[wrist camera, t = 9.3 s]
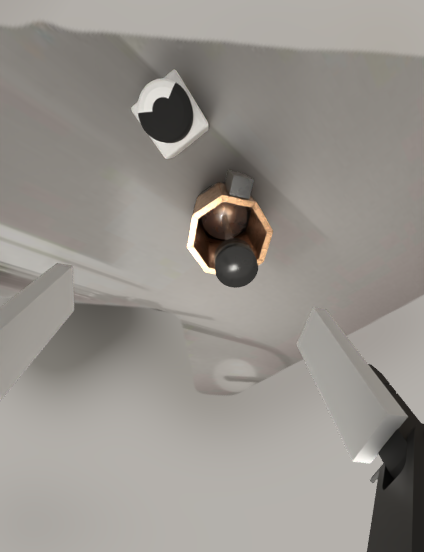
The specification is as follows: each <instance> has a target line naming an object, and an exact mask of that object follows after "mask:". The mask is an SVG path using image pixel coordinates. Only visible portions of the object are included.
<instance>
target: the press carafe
mask: <svg viewBox="0 0 424 552" xmlns="http://www.w3.org/2000/svg"><path fill="white" fill-rule="evenodd" d="M253 183H254V179H252V178H250V177H249V176H247V175H245V174H244V173H241V172H236V171H232V170H227V175H226V179H225V183H217V184H215V185H213V186H210V187H209V188H207V189H206V190H205V191H203V192H202V194H201V195H199V196H198V197H197V200H196V204H195V207H194V212H193V216H192V222H191V228H190V234H189V239H188V245H187V248H188V249H189V251H190V252H191V253H192V255H193V256H194V257H195V259H196V260H197V261H198V263H199V264H200V266H201V267H202V268H203V270H204V271H205V272H206V273H212V274H216V273H215V259H214V255H215V251H216V249H217V247H218V246H219V244H221V243H222V242H223V241H225V240H226V239H218V238H215V237H213V236H211V235H210V234H209V233H208V232H207V231H206V230H205V228H204V226H203V223H202V216H203V215H204V214H206V213H207V212H209V211H210V210H212V209H213V208H215V207H216V206H217V205H219V204H220V203H222V202H227V203H232V204H237V205H242V206H245V207H246V210H247V222H246V225H245V227H244V228H243V230H242V231H241V232H240V233H239V234H238V235H237V236H235V237H233V238H239V239H242V240H244V241H246V242H247V243H248V244H249V245H250V246H251V248H252V251H253V253H254V255H255V257H256V260H257V262H258V265H259V264H261V263H263V261H264V259H265V256H266V253H267V250H268V246H269V243H270V240H271V237H272V234H273V230H272V228H271V226H270V225H269V223H268V221H267V219H266V218H265V216H264V214H263V212H262V211H261V209H260V207H259V205H258V204H257V202H256V201H255V200H254V199H253V198H252V197H251V196H250V194H251V190H252V187H253Z"/></svg>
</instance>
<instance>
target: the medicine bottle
mask: <svg viewBox="0 0 424 552" xmlns="http://www.w3.org/2000/svg"><path fill="white" fill-rule="evenodd" d="M131 111H132V112H133V114H134V115H135V117H136V118H137V119H138V121H139V122H140V124H141V125H142V127H143V129H144V130H145V131H146V133H147V134H148V135H149V136H150V138H151V139H152V141H153V142H154V143H155V145H156V146H157V148H158V149H159V150H160V152H161V153H162V155H163V156H164V158H166V159H170V158H174V157H176V156H177V155H178V154H179V153H180V152H182V151H183V150H184V149H185V148H187V147H188V146H189V145H190V144H192V143H193V142H194V141H195V140H197V139H198V138H199V137H200V136H202V135H203V134H204V133H205V132H207V131H208V129H209V124H208V121H207V120H206V118H205V116H204V115H203V113H202V112H201V110H200V108H199V107H198V105H197V103H196V102H195V100H194V98H193V97H192V95H191V93H190V92H189V90H188V89H187V87H186V85H185V84H184V82H183V80H182V79H181V77H180V75H179V74H178V72H177V71H176V70H175V69H174V70H172V71H171V72H170V73H169V74H168V75H166V76H165V77H164V78H160V79H156V80H153V81H151V82H150V83H148V84H147V85H146V86H145V87H144V88H143V90H142V91H141V94H140V96H139V99H138V102H137V103H136V104H134V105H133V106H132V108H131Z"/></svg>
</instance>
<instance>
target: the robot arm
mask: <svg viewBox="0 0 424 552" xmlns="http://www.w3.org/2000/svg"><path fill="white" fill-rule="evenodd" d="M73 311H74V288H73V266H71V265H65V264H59V263H57V264H55V265H54V266H53V267H52V268H50V269H49V270H48V271H46V272H45V273H44V274H42V275H41V276H40V277H39V278H37V279H36V280H35V281H33V282H32V283H31V284H29V285H28V286H27V287H26V288H24V289H23V290H22V291H20V292H19V293H18V294H17V295H15V296H14V297H13V298H11V299H10V300H9V301H7V302H6V303H5V304H4V305H2V306H1V307H0V401H1V400H2V399H3V397H4V396H5V395H6V394H7V392H8V391H9V390H10V389H11V388H12V386H13V385H14V384H15V382H16V381H17V380H18V379H19V378H20V377H21V375H22V374H23V373H24V372H25V370H26V369H27V368H28V367H29V365H30V364H31V363H32V362H33V360H34V359H35V358H36V357H37V356H38V354H39V353H40V352H41V351H42V349H43V348H44V347H45V346H46V344H47V343H48V342H49V341H50V339H51V338H52V337H53V336H54V335H55V333H56V332H57V331H58V330H59V328H60V327H61V326H62V325H63V323H64V322H65V321H66V320H67V319H68V317H69V316H70V315H71V314H72V312H73ZM297 346H298V348H299V350H300V353H301V355H302V357H303V359H304V361H305V363H306V365H307V367H308V369H309V372H310V373H311V376H312V378H313V380H314V382H315V384H316V386H317V388H318V390H319V393H320V395H321V397H322V399H323V401H324V403H325V405H326V407H327V409H328V411H329V413H330V416H331V418H332V420H333V422H334V424H335V426H336V428H337V430H338V432H339V435H340V437H341V438H342V441H343V443H344V445H345V447H346V449H347V451H348V454H349V456H350V457H351V460H352V461H353V462H363V463H371V462H372V461H373V460H374V458H375V457H376V456H377V455H378V454H379V455H380V457H381V459H382V461H383V462H384V463H383V465H382V466H381V467H380V468H379V469H378V471H377V472H376V473H375V474H374V475H373V476H372V478H371V480H370V481H371V482H372V483H374V482H375V480H376V479H378V483H377V489H376V496H375V503H374V510H373V516H372V523H371V529H370V535H369V542H368V548H367V552H424V424H422V423H421V422H420V421H419V420H418V419H417V418H416V416H415V415H414V414H413V413H412V411H411V410H410V409H409V407H408V406H407V405H406V404H405V402H404V401H403V400H402V399H401V397H400V396H399V395H398V394H396V391H395V390H394V388H393V387H392V386H391V385H389V382H388V381H387V380H386V378H385V377H384V376H383V375H382V373H380V372H379V371H378V370H377V369H376V368H374V367H373V366H372V365H370V364H367V362H366V361H365V360H364V358H363V357H362V356H361V354H360V353H359V352H358V351H357V349H356V348H355V347H354V345H353V344H352V343H351V341H350V340H349V339H348V337H347V336H346V335H345V334H344V332H343V331H342V330H341V328H340V327H339V326H338V324H337V323H336V322H335V320H334V319H333V318H332V317H331V315H330V314H329V313H328V311H327V310H326V309H322V308H317V307H313V309H312V311H311V313H310V315H309V318H308V320H307V322H306V324H305V327H304V329H303V331H302V333H301V336H300V338H299V340H298V342H297Z"/></svg>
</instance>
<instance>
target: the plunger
mask: <svg viewBox="0 0 424 552" xmlns="http://www.w3.org/2000/svg"><path fill="white" fill-rule="evenodd" d="M246 222H247V210H246V207H245V206H242V205H237V204H232V203H227V202H222V203H220V204H219V205H217V206H216V207H215V208H213V209H212V210H210V211H209V212H207V213H206V214H204V215H203V216H202V223H203V226H204V228H205V230H206V231H207V232H208V233H209V234H210V235H211V236H213V237H215V238H218V239H226V240H225V241H223V242H222V243H221V244H219V246H218V247H217V249H216V251H215V255H214V259H215V273H216V276H217V278H218V279H219V280H220V281H221V282H222V283H223V284H224V285H226V286H229V287H242V286H245V285H247V284H249V283H250V282H251V281H252V280H253V279H254V278H255V276H256V274H257V271H258V262H257V260H256V257H255V255H254V253H253V251H252V248H251V246H250V245H249V244H248V243H247V242H246V241H244V240H242V239H239V238H233V237H235V236H237V235H238V234H239V233H240V232H241V231H242V230H243V228H244V227H245V225H246Z"/></svg>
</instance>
